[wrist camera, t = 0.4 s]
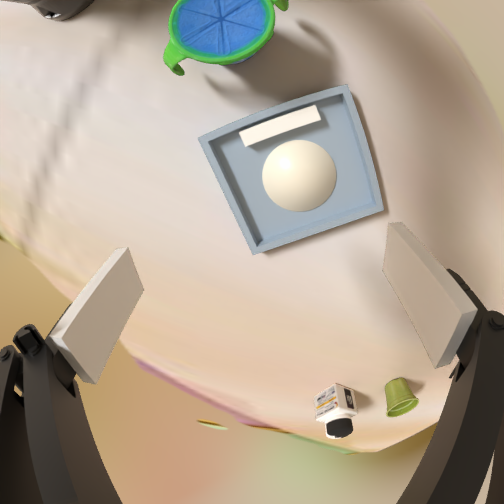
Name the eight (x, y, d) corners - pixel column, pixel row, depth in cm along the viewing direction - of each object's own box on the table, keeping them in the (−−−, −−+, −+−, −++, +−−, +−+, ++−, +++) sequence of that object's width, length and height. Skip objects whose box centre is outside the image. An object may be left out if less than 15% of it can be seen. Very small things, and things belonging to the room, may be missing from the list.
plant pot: (397, 370, 57) (407, 397, 49) (415, 376, 59) (425, 400, 51) (372, 390, 61) (379, 416, 54) (392, 394, 63) (399, 418, 56)
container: (334, 382, 59) (342, 427, 47) (353, 389, 61) (362, 431, 49) (312, 396, 62) (317, 439, 50) (332, 402, 64) (338, 442, 52)
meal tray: (201, 136, 34) (197, 138, 31) (341, 85, 29) (347, 83, 27) (253, 247, 41) (252, 255, 39) (377, 204, 37) (384, 210, 35)
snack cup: (199, 99, 31) (176, 95, 22) (163, 43, 27) (130, 26, 18) (304, 47, 27) (319, 25, 18) (264, -9, 23) (264, -43, 14)
